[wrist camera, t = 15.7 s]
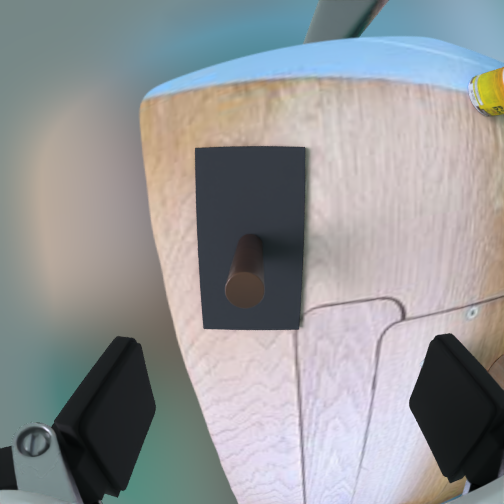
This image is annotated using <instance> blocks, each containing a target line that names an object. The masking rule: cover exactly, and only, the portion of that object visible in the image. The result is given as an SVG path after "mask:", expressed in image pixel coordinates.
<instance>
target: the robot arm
mask: <svg viewBox="0 0 504 504" xmlns="http://www.w3.org/2000/svg"><path fill="white" fill-rule="evenodd" d="M409 406H410V409H411V411H412V413H413V415H414V417H415V419H416V421H417V423H418V425H419V427H420V429H421V431H422V433H423V435H424V437H425V439H426V441H427V443H428V445H429V447H430V449H431V451H432V453H433V455H434V457H435V459H436V461H437V464H438V466H439V468H440V470H441V472H442V474H443V476H445V477H447V478H448V480H449V482H450V483H452V482H455V481H457V480H459V479H462V478H463V477H464V476H466V478H467V481H466V484H465V488H464V491H463V494H462V496H461V497H459V498H457V499H454V500H452V501H450V502H447V503H445V504H504V390H503V389H502V388H501V387H500V385H499V384H498V383H497V382H496V381H495V380H494V378H493V377H492V376H491V375H490V374H489V373H488V372H487V371H486V369H485V368H484V367H483V366H482V365H481V364H480V363H479V362H478V361H477V359H476V358H475V357H474V356H473V355H472V354H471V353H470V352H469V351H468V350H467V349H466V348H465V347H464V346H463V344H462V343H461V342H460V341H459V340H458V339H457V338H456V337H455V336H454V335H453V334H450V333H449V334H442V335H437V336H435V338H434V339H433V340H432V341H431V342H430V344H429V347H428V350H427V354H426V357H425V360H424V362H423V365H422V368H421V371H420V374H419V377H418V379H417V382H416V384H415V387H414V390H413V392H412V395H411V397H410V400H409ZM155 410H156V405H155V400H154V397H153V393H152V389H151V385H150V381H149V377H148V373H147V369H146V365H145V360H144V356H143V351H142V347H141V344H139V343H137V342H136V340H135V339H134V338H129V337H120V336H117V337H116V338H115V339H114V340H113V341H112V343H111V344H110V345H109V346H108V348H107V349H106V350H105V352H104V353H103V354H102V356H101V357H100V358H99V360H98V361H97V363H96V364H95V365H94V366H93V368H92V369H91V370H90V372H89V373H88V375H87V376H86V377H85V378H84V380H83V381H82V382H81V384H80V385H79V387H78V388H77V389H76V391H75V392H74V394H73V395H72V396H71V398H70V399H69V401H68V402H67V403H66V405H65V406H64V408H63V409H62V410H61V412H60V413H59V415H58V416H57V418H56V419H55V420H54V424H53V425H52V427H50V426H48V425H46V424H44V423H38V422H34V423H29V424H26V425H23V426H22V427H20V428H19V429H18V430H17V431H16V432H15V434H14V436H13V438H12V446H9V447H5V448H1V449H0V504H103V503H102V501H101V500H102V498H103V496H104V494H108V495H111V496H115V497H118V496H119V493H120V491H121V490H122V491H124V490H125V489H126V487H127V485H128V483H129V480H130V477H131V474H132V472H133V469H134V466H135V463H136V461H137V458H138V456H139V453H140V450H141V448H142V445H143V443H144V440H145V437H146V435H147V432H148V430H149V427H150V425H151V422H152V419H153V417H154V414H155Z"/></svg>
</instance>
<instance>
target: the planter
mask: <svg viewBox="0 0 504 504" xmlns="http://www.w3.org/2000/svg"><path fill="white" fill-rule="evenodd" d="M488 373H489V374H490V375H491V376H492V377H493V378H494V380H495V381H496V382H497V383H498V384H499V385H500V387H501V388H502V389H503V390H504V354H503V355H502V356H501V357H500V358H499V359H498V360H497V361H496V362H495V363H494V364H493V365H492V366H491V368H490V369H489V371H488Z"/></svg>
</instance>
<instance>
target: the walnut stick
mask: <svg viewBox="0 0 504 504" xmlns="http://www.w3.org/2000/svg"><path fill="white" fill-rule="evenodd" d="M264 293H265V284H264V262H263V244H262V241H261V239H260V238H259V237H258V236H256V235H254V234H246V235H244V236H242V237H241V238H240V240H239V241H238V244H237V248H236V251H235V254H234V258H233V261H232V265H231V268H230V271H229V275H228V278H227V282H226V285H225V294H226V297H227V299H228V300H229V301H230V302H231V303H232V304H233V305H234V306H236V307H239V308H251V307H254V306H256V305H257V304H259V303H260V302H261V300H262V299H263V297H264Z"/></svg>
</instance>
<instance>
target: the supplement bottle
mask: <svg viewBox="0 0 504 504" xmlns="http://www.w3.org/2000/svg"><path fill="white" fill-rule="evenodd" d="M468 91H469V96H470V99H471V101H472V103H473V105H474V107H475V108H476V109H477V110H478V111H479V112H480V113H481V114H483V115H486V116H493V115H501V114H504V67H502V68H499V69H496V70H493V71H490V72H487V73H484V74H481V75H478V76H475V77H473V78H472V79H471V80H470V82H469V85H468Z"/></svg>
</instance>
